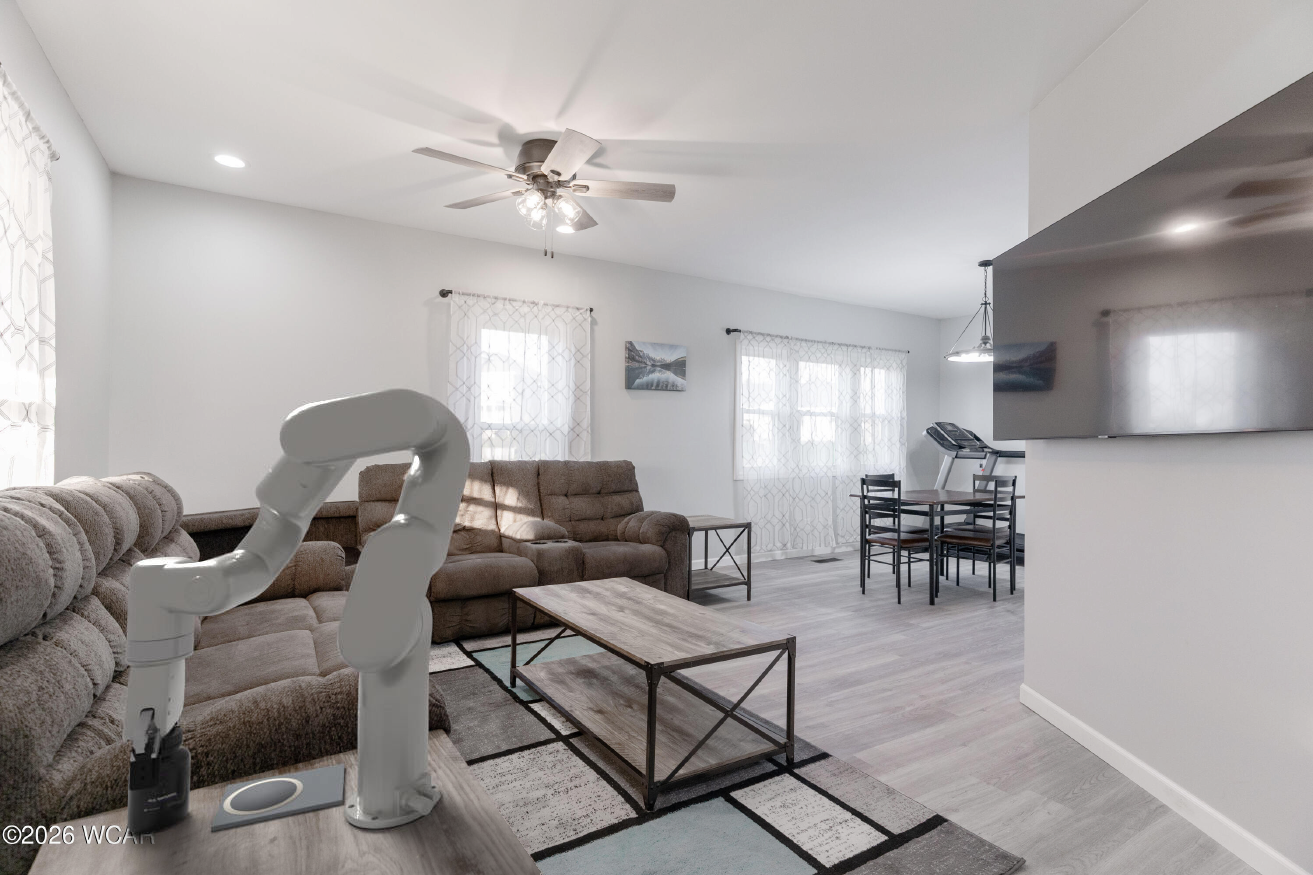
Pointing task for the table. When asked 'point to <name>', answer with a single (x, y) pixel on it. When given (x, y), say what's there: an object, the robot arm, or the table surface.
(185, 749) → the supplement bottle
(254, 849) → the table surface
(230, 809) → the mat
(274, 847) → the table surface
